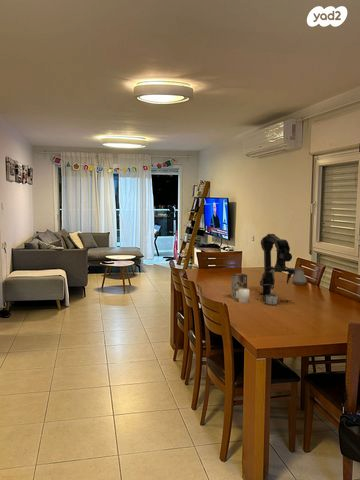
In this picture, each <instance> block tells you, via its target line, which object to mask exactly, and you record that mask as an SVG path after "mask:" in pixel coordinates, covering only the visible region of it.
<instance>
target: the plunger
mask: <svg viewBox="0 0 360 480" xmlns="http://www.w3.org/2000/svg"><path fill="white" fill-rule="evenodd" d="M270 288H271V295H270V296H269V297H276V296H273V295H274V294H273V290H274V289H275V284H274V285H271V286H270Z"/></svg>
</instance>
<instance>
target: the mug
mask: <svg viewBox="0 0 360 480" xmlns="http://www.w3.org/2000/svg"><path fill="white" fill-rule="evenodd" d="M236 298H238V299H237V301H238V302H239V303H243V304H246V303H250V289H249V288H247V289H246V288H240V289H239V291H236Z"/></svg>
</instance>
